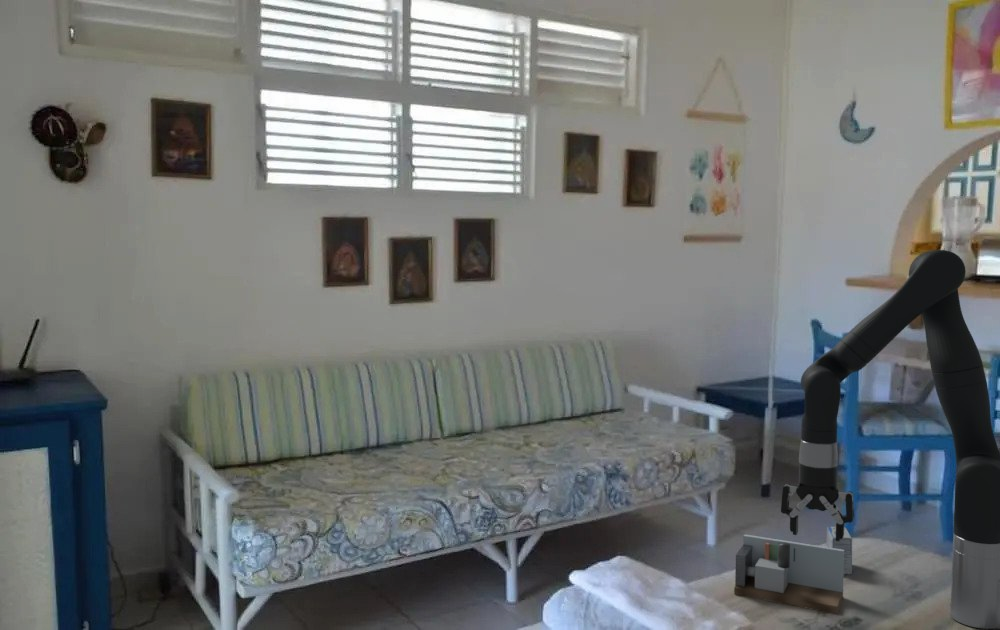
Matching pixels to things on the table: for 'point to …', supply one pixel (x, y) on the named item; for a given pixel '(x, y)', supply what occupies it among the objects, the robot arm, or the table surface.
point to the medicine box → (841, 546)
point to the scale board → (804, 562)
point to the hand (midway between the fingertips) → (816, 537)
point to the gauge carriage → (772, 569)
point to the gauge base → (795, 596)
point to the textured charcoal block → (743, 565)
